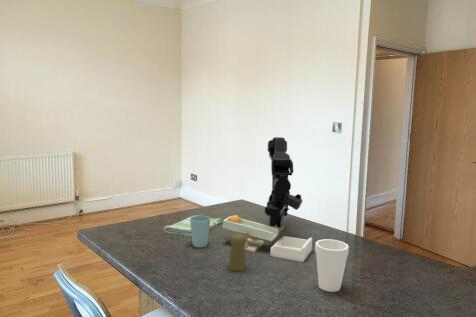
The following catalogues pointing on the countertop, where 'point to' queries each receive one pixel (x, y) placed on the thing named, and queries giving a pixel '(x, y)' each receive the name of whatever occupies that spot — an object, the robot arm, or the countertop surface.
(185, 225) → the dish towel
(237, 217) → the ball
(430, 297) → the countertop surface
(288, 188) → the robot arm
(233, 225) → the lever
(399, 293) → the countertop surface
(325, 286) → the foam cup
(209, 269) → the countertop surface
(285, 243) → the bin
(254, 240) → the lever stand
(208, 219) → the cup
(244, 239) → the olive knobbed post
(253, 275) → the countertop surface
